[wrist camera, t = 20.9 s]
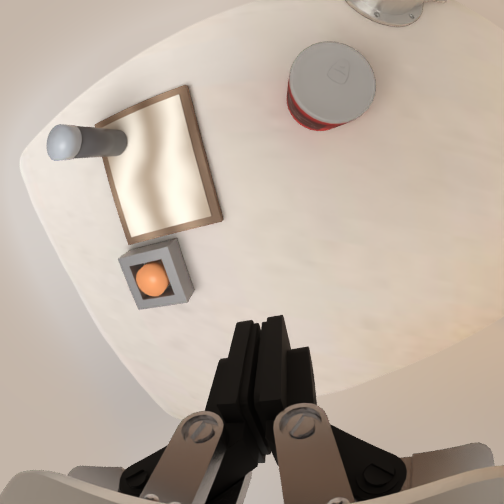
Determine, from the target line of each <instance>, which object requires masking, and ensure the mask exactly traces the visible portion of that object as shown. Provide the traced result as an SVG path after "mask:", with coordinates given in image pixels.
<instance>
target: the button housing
mask: <svg viewBox="0 0 504 504" xmlns="http://www.w3.org/2000/svg"><path fill="white" fill-rule="evenodd" d="M160 259H162V262H163V265H164V267H165V270H166V273H167V276H168V278H169V281H170V284H171V286H168V287H167V288H166V289H165V291H164V292H163V293H162V294H161V295H159V296H149V295H147V294H145V293H144V292H143V291H142V290H141V289H140V288H139V286H138V284H137V281H136V275H137V272H138V271H139V270H140V269H141V268H142V267H143V264H142V263H147V262H151V261H155V260H160ZM118 260H119V263H120V266H121V268H122V271H123V273H124V276H125V278H126V281H127V283H128V286H129V288H130V291H131V293H132V295H133V298H134V300H135V302H136V305H137V307H138V309H139V310H140V309H147V308H154V307H161V306H168V305H175V304H181V303H188V301H189V299H190V297H191V296H192V294H193V292H194V288H193V285H192V282H191V279H190V277H189V274H188V271H187V268H186V265H185V262H184V259H183V256H182V253H181V250H180V247H179V244H178V241H177V238H176V239H172V240H168V241H164V242H160V243H156V244H152V245H148V246H144V247H140V248H136V249H132V250H129V251H128V252H126V253H125V254H124V255H122V256H121V257H120V258H118Z"/></svg>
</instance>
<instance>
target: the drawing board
mask: <svg viewBox="0 0 504 504" xmlns="http://www.w3.org/2000/svg"><path fill="white" fill-rule="evenodd" d="M95 128H105V129H115V130H121V131H123V132H124V133H125V135H126V137H127V145H126V148H125V150H124V152H123V153H122V154H121V155H119V156H111V157H102V158H103V162H104V166H105V170H106V174H107V177H108V181H109V185H110V188H111V192H112V195H113V198H114V202H115V205H116V208H117V211H118V215H119V218H120V221H121V224H122V227H123V230H124V233H125V236H126V239H127V242H128V245H131V244H135V243H138V242H142V241H146V240H150V239H154V238H157V237H161V236H165V235H169V234H173V233H177V232H181V231H185V230H189V229H193V228H197V227H201V226H205V225H210V224H214V223H218V222H222V221H223V216H222V212H221V209H220V205H219V202H218V198H217V194H216V191H215V187H214V183H213V180H212V176H211V172H210V169H209V165H208V161H207V157H206V154H205V150H204V146H203V142H202V138H201V135H200V131H199V127H198V123H197V119H196V115H195V112H194V108H193V104H192V100H191V96H190V92H189V88H188V86H186V85H184V86H181V87H178V88H175V89H173V90H170V91H167V92H165V93H162V94H160V95H157V96H155V97H152V98H150V99H148V100H145V101H143V102H141V103H138V104H136V105H134V106H132V107H129V108H127V109H125V110H123V111H121V112H119V113H117V114H115V115H113V116H111V117H109V118H107V119H105V120H103V121H101V122H99V123H97V124H95Z"/></svg>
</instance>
